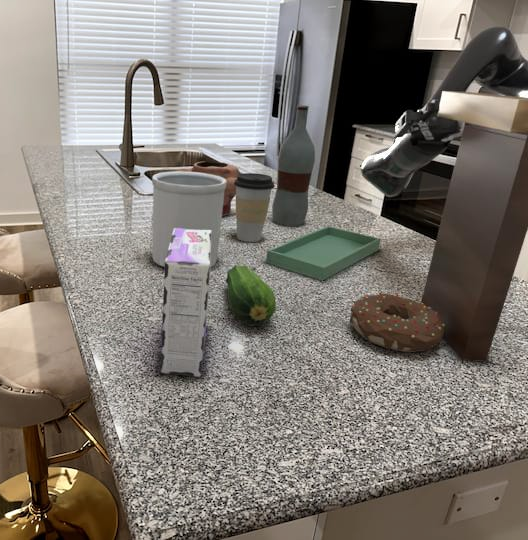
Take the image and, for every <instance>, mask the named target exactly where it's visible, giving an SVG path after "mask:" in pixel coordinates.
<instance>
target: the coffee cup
mask: <svg viewBox="0 0 528 540" xmlns="http://www.w3.org/2000/svg"><path fill="white" fill-rule="evenodd" d="M234 185H235V186H236V195H235V219H236V238H237V240H238V241H240V242H241V241H242V242H246V243H257V242H260V241H261V240H262V235H263V231H264V227H265V222H266V220H267V215H268V211H269V207H270V202H271V194H272V189H274V188H275V187H276V186H275V182H274V180H273V176H270V175H268V174H264V173H256V172H255V173H254V172H245V173H244V172H243V173H240V174H239V175H238V177H237V179H235V182H234Z"/></svg>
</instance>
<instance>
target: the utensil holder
mask: <svg viewBox="0 0 528 540" xmlns="http://www.w3.org/2000/svg"><path fill="white" fill-rule="evenodd" d="M151 183H152V186H153V189H152V190H153V193H152V195H153V196H152V234H151V235H152V236H151V237H152V239H151V240H152V241H151V242H152V243H151V244H152V246H151V247H152V248H151V249H152V251H151V252H152V253H151V254H152V256H151V257H152V260H153V262H154V263H155V264H157V265H158V266H160V267H163V268H165V259H166V255H167V252H168V248H169V244H170V241H171V237H172V233H173V230H174V228H182V229H201V230H211V231H212V239H211V268H212V267H214V266H215V265H216V264H217V260H218V255H219V254H218V253H219V247H220V246H219V245H220V239H221V227H222V218H223V216H222V210H223V201H224V190H225V188H226V183H227V181H226V179H224V178H222V177H220V176H216V175H211V174H206V173H198V172H186V171H178V170H176V171H175V170H174V171H164V172H158V173H155V174H153V175H152V177H151Z"/></svg>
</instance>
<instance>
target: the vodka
mask: <svg viewBox="0 0 528 540" xmlns="http://www.w3.org/2000/svg"><path fill="white" fill-rule="evenodd" d="M296 107H297V111H296V117H295V123H294V124H295V125H294V128H293V129H292V130H291V132H290V134H289V135H288V136H287V137H286V139H285V140H284V141H283V142H282V144H281V146H280V149H279V154H278V156H277V177H276V181H277V182H276V190H275V193H274V197H273V201H272V204H271V205H272V206H271V217H272V221H273V223H275V224H277V225H280V226H286V227H300V226H302V225H304V224H305V221H306V218H307V214H308V210H309V188H310V184H311V180H312V179H311V178H312V174H313V170H314V166H315V162H316V149H315V145H314V143H313V141H312V138H311V136H310V134H309V131H308V130H307V121H308V115H309V114H308V113H309V108H310V106H309V105H303V104H302V105H301V104H300V105H299V104H298V105H297V106H296Z"/></svg>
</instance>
